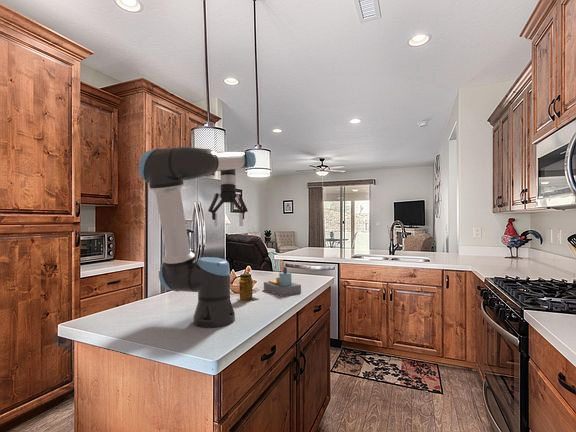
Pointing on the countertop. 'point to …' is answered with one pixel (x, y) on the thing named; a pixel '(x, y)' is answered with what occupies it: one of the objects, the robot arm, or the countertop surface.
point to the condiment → (246, 288)
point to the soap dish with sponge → (282, 288)
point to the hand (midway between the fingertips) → (228, 226)
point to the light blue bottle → (285, 278)
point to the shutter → (275, 281)
